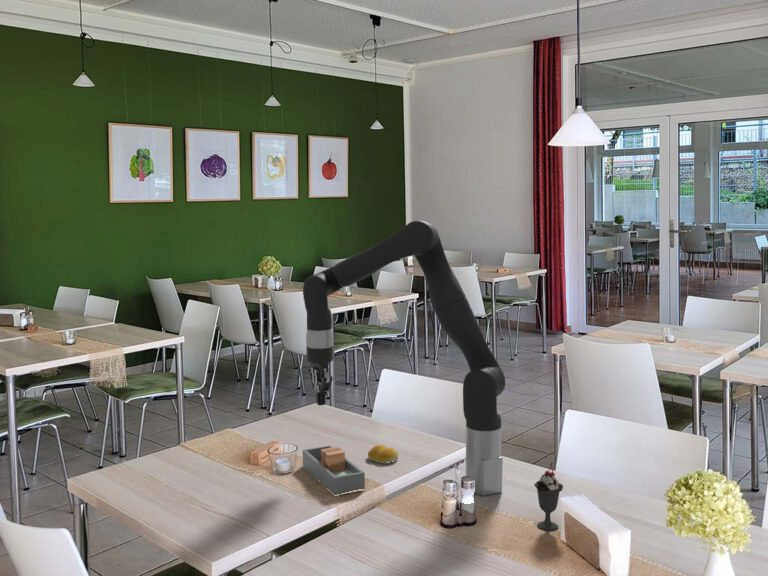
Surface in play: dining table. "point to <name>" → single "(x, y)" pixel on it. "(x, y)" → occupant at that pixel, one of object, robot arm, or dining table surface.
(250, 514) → the dining table surface
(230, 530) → the dining table surface
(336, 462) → the block
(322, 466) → the trap box
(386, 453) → the bread roll
